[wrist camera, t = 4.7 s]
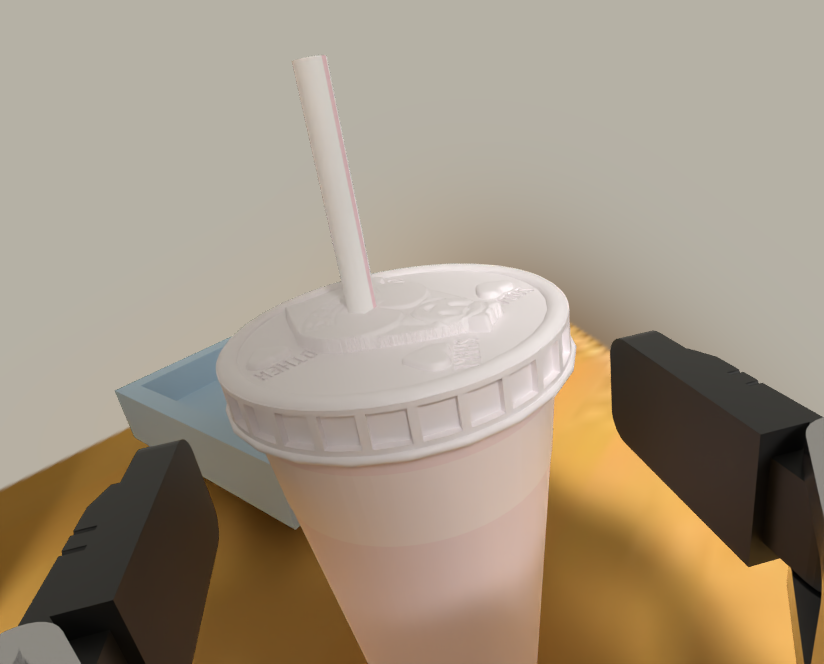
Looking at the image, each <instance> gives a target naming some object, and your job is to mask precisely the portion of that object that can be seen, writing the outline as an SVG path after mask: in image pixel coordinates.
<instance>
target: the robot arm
mask: <svg viewBox="0 0 824 664" xmlns="http://www.w3.org/2000/svg"><path fill="white" fill-rule="evenodd" d="M610 361H611V394H612V414H613V419H614V423H615V426H616V429H617V431H618V433H619V435H620V437H621V438H622V440H623V441H624V442H625V443H626V444H627V445H628V446H629V447H630V448H631V449H632V450H633V451H634V452H635V453H636V454H637V455H638V456H639V457H640V458H641V459H642V460H643V461H644V462H645V463H646V464H647V465H648V466H649V468H650V469H651V470H652V471H653V472H654V473H655V474H656V475H657V476H658V477H659V478H660V479H661V480H662V481H663V482H664V483H665V484H666V485H667V486H668V487H669V488H670V489H671V490H672V491H673V492H674V493H675V494H676V495H677V496H678V497H679V498H680V499H681V500H682V501H683V502H684V503H685V504H686V505H687V506H688V507H689V508H690V509H691V510H692V511H693V512H694V513H695V514H696V515H697V516H698V517H699V518H700V519H701V520H702V521H703V522H704V523H705V524H706V525H707V526H708V527H709V528H710V529H711V530H712V531H713V532H714V533H715V534H716V535H717V536H718V537H719V538H720V539H721V540H722V541H723V542H724V543H725V544H726V545H727V546H728V547H729V548H730V549H731V550H732V551H733V552H734V553H735V554H736V555H737V556H738V557H739V558H740V559H741V560H742V561H743V562H744V563H745V564H746V565H747V566H748V567H751V566H754V565H758V564H761V563H765V562H768V561H772V560H775V559H779V558H781V559H782V560H783V561H784V562H785V563H786V564H787V565H788V566H789V567H788V575H787V591H788V599H789V607H790V615H791V623H792V632H793V640H794V648H795V656H796V664H824V417H822V416H820V415H818V414H816V413H815V412H813V411H811V410H809V409H808V408H806V407H804V406H802V405H801V404H798V403H797V402H795V401H794V400H792V399H790V398H788V397H786V396H785V395H783V394H781V393H779V392H778V391H776V390H774V389H772V388H771V387H769V386H767V385H765V384H763V383H760V384H759V383H758V380H756V379H755V378H753V377H751V376H750V375H748V374H746V373H744V372H741V373H740V372H739V369H737V368H735V367H734V366H732V365H730V364H728V363H727V362H725V361H723V360H721V359H720V358H718V357H715V356H712V355H709V354H704V353H701V352H698V351H695V350H691V349H686V348H684V347H683V346H681V345H679V344H678V343H676V342H674V341H672V340H671V339H669V338H668V337H666V336H664V335H663V334H661V333H659V332H657V331H649V332H645V333H640V334H636V335H632V336H627V337H623V338H619V339H616V340H615V341H613V343H612V345H611V350H610ZM73 532H74V535H72V536H70V538H69V539H68V541H67V543H66V544H65V546H64V548H63V550H62V556H59V557H58V558H57V560H56V562H55V563H54V565H53V567H52V568H51V570H50V572H49V574H48V575H47V577H46V579H45V580H44V582H43V584H42V586H41V587H40V589H39V591H38V593H37V594H36V596H35V598H34V599H33V601H32V603H31V605H30V606H29V608H28V610H27V611H26V613H25V615H24V617H23V618H22V620H21V622H20V623H19V625H18V626H17V627H15V628H12V629H10V630H7V631H5V632H3V633H1V634H0V664H192V661H193V657H194V652H195V648H196V643H197V638H198V634H199V629H200V625H201V620H202V616H203V611H204V606H205V602H206V597H207V593H208V588H209V584H210V579H211V574H212V570H213V565H214V561H215V556H216V552H217V547H218V540H219V528H218V520H217V515H216V511H215V508H214V505H213V503H212V500H211V497H210V495H209V492H208V489H207V487H206V484H205V482H204V479H203V476H202V474H201V471H200V468H199V466H198V463H197V461H196V458H195V455H194V453H193V450H192V448H191V446H190V445H189V443H188V442H187V441H186V440H184V439H181V440H177V441H173V442H168V443H164V444H160V445H156V446H151V447H147V448H143V449H139V450H138V451H137V452H136V454H135V456H134V458H133V459H132V461H131V463H130V465H129V467H128V469H127V471H126V473H125V475H124V476H123V478H122V480H121V482H120V483H116V484H112V485H110V486H109V487H108V488H107V489H106V490H105V491H104V492H103V493H102V494H101V495H100V496H99V497H98V498H97V499H96V500H94V501H93V502H92V503H91V504H90V505H89V506H88V507H87V508H86V510H85V512H84V514H83V515H82V517H81V519H80V520H79V522H78V524H77V526H76V527H75V529H74V531H73Z"/></svg>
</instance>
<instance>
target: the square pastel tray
mask: <svg viewBox="0 0 824 664" xmlns="http://www.w3.org/2000/svg"><path fill="white" fill-rule="evenodd" d="M230 338H231V337H229V338H227V339H225V340H223V341H221V342H218V343H216V344H214V345H212V346H210V347H208V348H206V349H204V350H201V351H199V352H197V353H195V354H193V355H191V356H188V357H186V358H184V359H182V360H180V361H178V362H175V363H173V364H171V365H169V366H167V367H165V368H163V369H160V370H158V371H156V372H154V373H152V374H150V375H147V376H145V377H143V378H141V379H139V380H137V381H134V382H132V383H130V384H128V385H126V386H124V387H121V388H120V389H117V390H115V393H116V395H117V397H118V400H119V402H120V404H121V407H122V409H123V411H124V414H125V416H126V418H127V421H128V423H129V426H130V428H131V430H132V433H133V435H134V437H135V438H137V439H138V440H140V441H142V442H144V443H145V444H147V445H149V446H150V447H151V446H156V445H160V444H164V443H168V442H173V441H177V440H181V439H184V440H186V441H187V442H188V443H189V445H190V446H191V448H192V450H193V453H194V455H195V458H196V461H197V463H198V466H199V468H200V471H201V474H202V476H203V477H204V478H206V479H208V480H210V481H211V482H213V483H215V484H217V485H218V486H220V487H222V488H223V489H225V490H227V491H229V492H230V493H232V494H234V495H236V496H237V497H239V498H241V499H243V500H244V501H246V502H248V503H250V504H251V505H253V506H255V507H256V508H258V509H260V510H262V511H263V512H265V513H267V514H269V515H270V516H272V517H274V518H276V519H277V520H279V521H281V522H283V523H284V524H286V525H288V526H289V527H291V528H293V529H295V530H296V529H297V528H298V527H299V526H300V524H299V522H298V520H297V518H296V516H295V514H294V512H293V510H292V509H291V507H290V505H289V503H288V501H287V499H286V497H285V495H284V493H283V490H282V488H281V486H280V484H279V482H278V480H277V478H276V475H275V473H274V471H273V469H272V467H271V465H270V462H269V460H268V458H267V456H266V454H265V453H262V452H259V451H257V450H256V449H255V448H253V447H252V446H251V445H249V444H248V443H247V442H245V441H244V440H243V439H242V438H240V437H239V436H238V435H236V434H235V433H234V432H233V429H232V426H231V424H230V421H229V418H228V416H227V413H226V405H227V402H226V399H225V396H224V393H223V390H222V387H221V385H220V383H219V381H218V378H217V375H216V361H217V359H218V356H219V354H220V352H221V350H222V349H223V347H224V346H225V345H226V343H227V342H228V340H229V339H230Z"/></svg>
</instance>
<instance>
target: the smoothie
mask: <svg viewBox="0 0 824 664" xmlns="http://www.w3.org/2000/svg"><path fill="white" fill-rule="evenodd" d="M292 64H293V69H294V73H295V78H296V82H297V87H298V91H299V96H300V100H301V104H302V109H303V113H304V118H305V122H306V127H307V131H308V135H309V140H310V144H311V148H312V153H313V158H314V162H315V166H316V171H317V175H318V180H319V184H320V189H321V193H322V198H323V202H324V207H325V211H326V215H327V220H328V224H329V229H330V233H331V238H332V242H333V246H334V251H335V255H336V260H337V264H338V269H339V273H340V277H341V281H340V282H337V283H334V284H330V285H327V286H324V287H321V288H318V289H315V290H312V291H309V292H307V293H304V294H302V295H299V296H297V297H295V298H292V299H290V300H287V301H285V302H283V303H281V304H279V305H277V306H275V307H273V308H271V309H269V310H267V311H266V312H264V313H262V314H260V315H259V316H257V317H256V318H254V319H253V320H251V321H250V322H248V323H247V324H245V325H244V326H243V327H242V328H241V329H240V330H239V331H237V332H236V333H235V334H234V335H233V336H232V337H231V338H230V339H229V340H228V342H227V343H226V345H225V346H224V347H223V349H222V350H221V352H220V354H219V356H218V359H217V361H216V375H217V378H218V381H219V383H220V385H221V387H222V390H223V393H224V396H225V399H226V402H227V405H226V413H227V416H228V418H229V421H230V424H231V426H232V429H233V432H234V433H235V434H236V435H238V436H239V437H240V438H242V439H243V440H244V441H245V442H247V443H248V444H249V445H251V446H252V447H253V448H255V449H256V450H257V451H259V452H262V453H265V454H266V456H267V458H268V460H269V462H270V465H271V467H272V469H273V471H274V473H275V475H276V478H277V480H278V482H279V484H280V486H281V488H282V490H283V493H284V495H285V497H286V499H287V501H288V503H289V505H290V507H291V509H292V510H293V512H294V514H295V516H296V518H297V520H298V522H299V524H300V526H301V528H302V530H303V532H304V534H305V536H306V538H307V540H308V542H309V544H310V546H311V548H312V550H313V552H314V554H315V556H316V559H317V561H318V563H319V565H320V567H321V569H322V571H323V573H324V575H325V577H326V579H327V581H328V583H329V585H330V587H331V589H332V591H333V593H334V595H335V597H336V599H337V601H338V603H339V605H340V607H341V610H342V612H343V614H344V616H345V618H346V620H347V622H348V624H349V626H350V628H351V630H352V632H353V634H354V636H355V638H356V640H357V642H358V644H359V646H360V648H361V650H362V652H363V654H364V656H365V659H366V661H367V663H368V664H537V658H538V643H539V628H540V612H541V597H542V582H543V567H544V551H545V536H546V521H547V506H548V490H549V475H550V460H551V452H552V438H553V416H554V397H555V396H556V395H557V393H558V392H559V390H560V389H561V388H562V386H563V385H564V383H565V382H566V381H567V379H568V378H569V376H570V375H571V374H572V372H573V370H574V362H575V354H576V345H575V343H574V341H573V339H572V337H571V335H570V321H569V304H568V300H567V298H566V296H565V294H564V293H563V292H562V291H561V290H560V289H559V288H558V287H557V286H555V285H554V284H553V283H551V282H550V281H548V280H546V279H544V278H542V277H540V276H539V275H536V274H533V273H530V272H526V271H523V270H520V269H515V268H510V267H504V266H498V265H485V264H439V265H425V266H416V267H408V268H400V269H395V270H389V271H383V272H377V273H373V274H371V271H370V267H369V262H368V257H367V252H366V247H365V242H364V237H363V232H362V227H361V222H360V218H359V212H358V207H357V203H356V198H355V193H354V188H353V183H352V178H351V173H350V168H349V164H348V158H347V153H346V149H345V143H344V138H343V133H342V128H341V123H340V119H339V114H338V109H337V104H336V99H335V94H334V89H333V84H332V79H331V74H330V70H329V64H328V59H327V55H317V56H311V57H305V58H300V59H296V60H293V61H292Z"/></svg>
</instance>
